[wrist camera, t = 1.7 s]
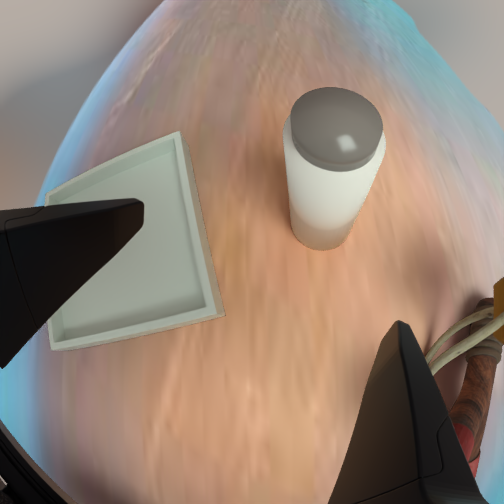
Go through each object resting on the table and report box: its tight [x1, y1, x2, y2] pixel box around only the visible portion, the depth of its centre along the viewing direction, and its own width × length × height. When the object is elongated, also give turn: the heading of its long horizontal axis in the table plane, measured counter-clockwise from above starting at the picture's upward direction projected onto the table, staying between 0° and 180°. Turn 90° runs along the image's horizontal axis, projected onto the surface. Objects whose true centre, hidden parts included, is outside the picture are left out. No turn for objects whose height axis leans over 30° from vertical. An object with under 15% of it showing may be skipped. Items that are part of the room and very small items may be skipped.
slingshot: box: [425, 277, 504, 478], centre depth 14 cm, size 17×10×15 cm
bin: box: [45, 131, 226, 351], centre depth 24 cm, size 16×16×2 cm
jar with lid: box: [283, 87, 386, 251], centre depth 17 cm, size 5×5×12 cm
